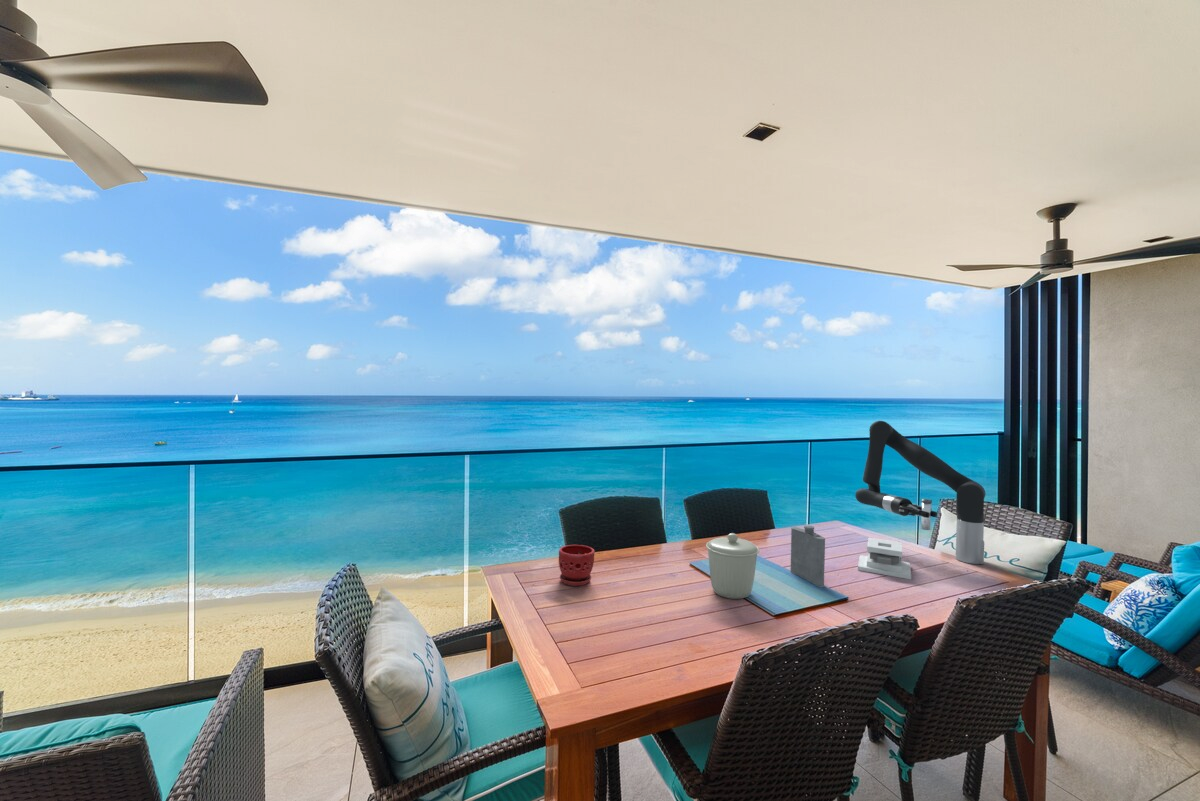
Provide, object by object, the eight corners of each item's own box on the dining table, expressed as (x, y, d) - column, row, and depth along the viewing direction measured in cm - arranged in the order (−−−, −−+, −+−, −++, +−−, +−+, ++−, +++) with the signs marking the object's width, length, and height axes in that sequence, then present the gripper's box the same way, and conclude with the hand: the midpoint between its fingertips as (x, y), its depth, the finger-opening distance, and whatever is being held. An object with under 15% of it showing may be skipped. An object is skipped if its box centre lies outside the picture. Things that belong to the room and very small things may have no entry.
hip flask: (788, 571, 194) (789, 521, 193) (796, 570, 195) (798, 520, 195) (819, 587, 179) (820, 532, 178) (827, 585, 180) (829, 531, 180)
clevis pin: (930, 528, 202) (931, 499, 201) (931, 530, 198) (932, 501, 198) (920, 527, 203) (921, 498, 203) (920, 529, 200) (921, 500, 200)
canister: (721, 607, 162) (722, 543, 161) (696, 585, 179) (697, 528, 178) (769, 601, 166) (770, 539, 166) (740, 580, 184) (741, 524, 183)
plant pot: (589, 589, 174) (590, 556, 174) (554, 586, 177) (554, 553, 176) (597, 576, 187) (597, 544, 187) (563, 573, 189) (564, 542, 189)
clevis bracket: (909, 566, 201) (910, 543, 201) (911, 580, 186) (911, 555, 186) (859, 558, 210) (860, 536, 210) (857, 570, 195) (858, 547, 195)
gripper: (883, 497, 213) (918, 506, 196) (910, 495, 216) (946, 505, 199) (883, 514, 213) (918, 525, 196) (909, 512, 216) (946, 523, 200)
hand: (932, 515), depth 198 cm, fingers closed on clevis pin, 3 cm apart
